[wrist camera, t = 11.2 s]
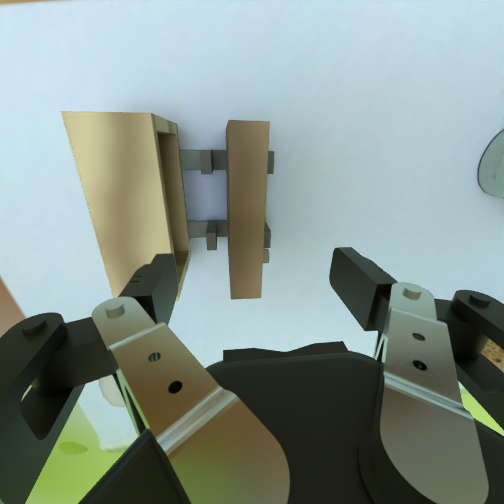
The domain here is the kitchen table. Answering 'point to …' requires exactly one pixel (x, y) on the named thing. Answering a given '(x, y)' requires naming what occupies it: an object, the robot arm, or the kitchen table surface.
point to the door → (246, 205)
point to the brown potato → (494, 354)
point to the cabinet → (141, 190)
